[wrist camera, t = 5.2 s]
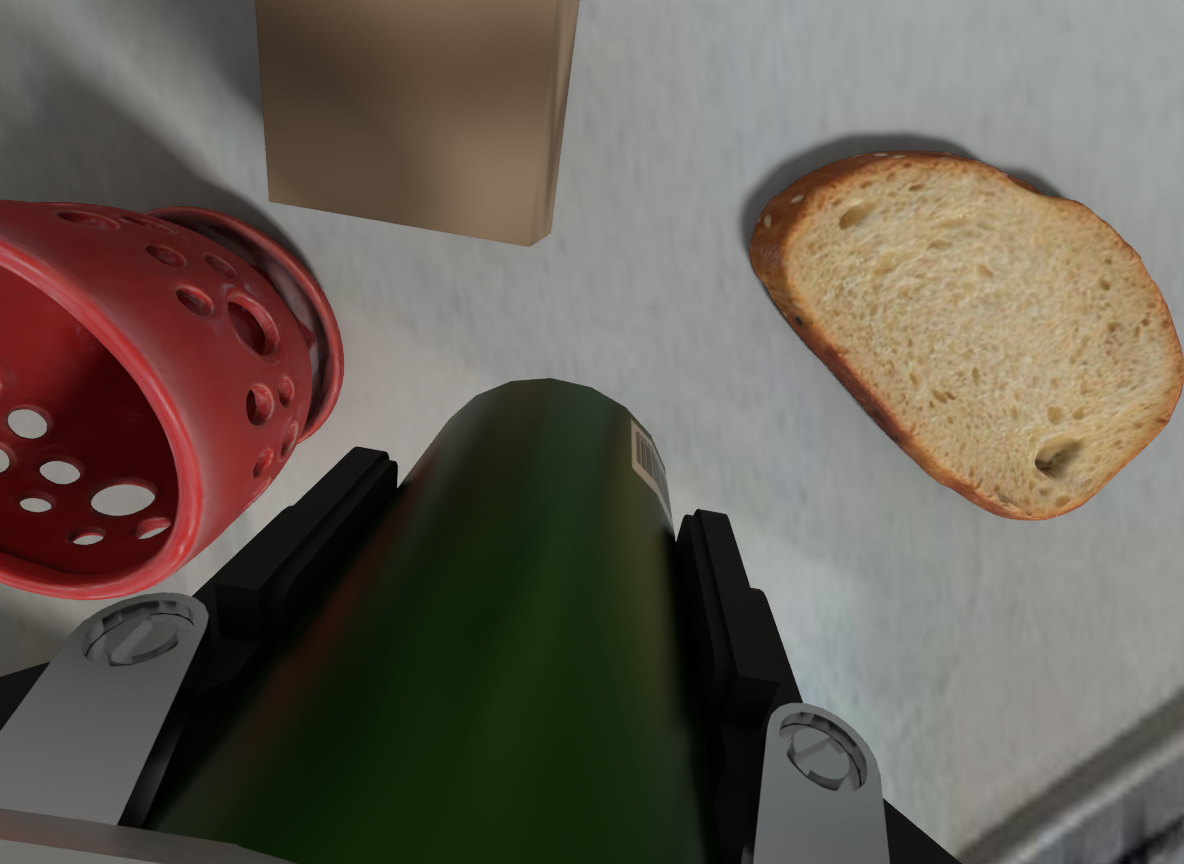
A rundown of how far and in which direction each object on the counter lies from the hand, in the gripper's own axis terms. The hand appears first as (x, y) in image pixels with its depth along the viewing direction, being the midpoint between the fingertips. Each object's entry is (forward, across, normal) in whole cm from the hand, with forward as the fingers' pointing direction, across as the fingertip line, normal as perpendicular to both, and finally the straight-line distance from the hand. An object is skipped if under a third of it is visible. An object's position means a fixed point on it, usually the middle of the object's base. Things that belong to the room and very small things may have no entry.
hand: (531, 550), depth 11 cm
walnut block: (+17, +7, -8) cm, 21 cm away
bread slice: (+18, -17, -2) cm, 25 cm away
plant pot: (+18, +17, +4) cm, 25 cm away
